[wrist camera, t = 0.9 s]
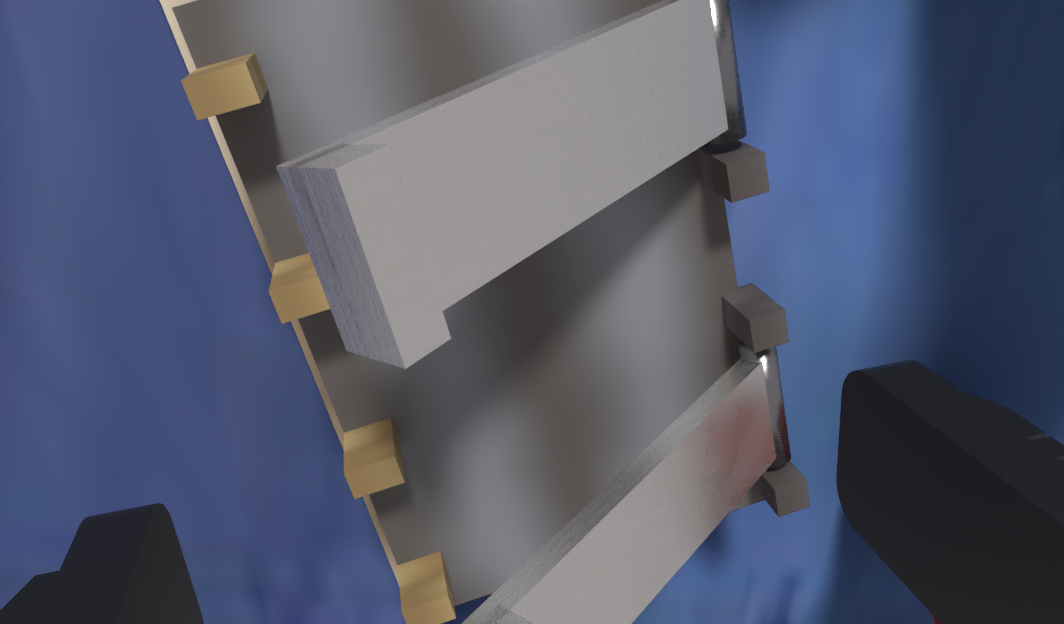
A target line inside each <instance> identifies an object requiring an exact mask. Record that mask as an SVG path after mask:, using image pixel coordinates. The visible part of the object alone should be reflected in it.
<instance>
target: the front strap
mask: <svg viewBox="0 0 1064 624" xmlns="http://www.w3.org/2000/svg"><path fill="white" fill-rule="evenodd" d="M746 135H747V130H746V123H745V115H744V108H743V100H742V93H741V86H740V78H739V71H738V64H737V56H736V49H735V42H734V34H733V27H732V20H731V12H730V5H729V0H662V1H659V2H657V3H655V4H652V5H650V6H648V7H645V8H643V9H641V10H639V11H636V12H634V13H632V14H629V15H627V16H625V17H622V18H620V19H618V20H615V21H613V22H611V23H608V24H606V25H604V26H601V27H599V28H597V29H594V30H592V31H590V32H587V33H585V34H583V35H580V36H578V37H576V38H573V39H571V40H569V41H566V42H564V43H562V44H559V45H557V46H555V47H552V48H550V49H548V50H545V51H543V52H541V53H538V54H536V55H534V56H531V57H529V58H527V59H524V60H522V61H520V62H517V63H515V64H513V65H511V66H508V67H506V68H504V69H501V70H499V71H497V72H494V73H492V74H490V75H487V76H485V77H483V78H480V79H478V80H476V81H473V82H471V83H469V84H466V85H464V86H462V87H459V88H457V89H455V90H452V91H450V92H448V93H445V94H443V95H441V96H438V97H436V98H434V99H431V100H429V101H427V102H424V103H422V104H420V105H417V106H415V107H413V108H410V109H408V110H406V111H403V112H401V113H399V114H396V115H394V116H392V117H389V118H387V119H385V120H382V121H380V122H378V123H376V124H373V125H371V126H369V127H366V128H364V129H362V130H359V131H357V132H355V133H352V134H350V135H348V136H345V137H343V138H341V139H338V140H336V141H334V142H331V143H329V144H327V145H324V146H322V147H320V148H317V149H315V150H313V151H310V152H308V153H306V154H303V155H301V156H299V157H296V158H294V159H292V160H289V161H287V162H285V163H282V164H280V165H278V166H276V168H277V171H278V174H279V176H280V179H281V181H282V184H283V187H284V189H285V192H286V194H287V197H288V200H289V202H290V205H291V207H292V210H293V213H294V215H295V218H296V220H297V223H298V226H299V228H300V231H301V233H302V236H303V239H304V241H305V244H306V247H307V249H308V252H309V254H310V257H311V260H312V262H313V265H314V267H315V270H316V273H317V275H318V278H319V280H320V283H321V286H322V288H323V291H324V293H325V296H326V299H327V301H328V304H329V306H330V309H331V312H332V314H333V317H334V319H335V322H336V325H337V327H338V330H339V332H340V335H341V338H342V340H343V343H344V345H345V348H346V351H349V352H352V353H355V354H358V355H362V356H365V357H368V358H371V359H375V360H378V361H381V362H385V363H388V364H391V365H394V366H398V367H401V368H404V369H406V368H408V367H409V366H411V365H412V364H414V363H415V362H417V361H418V360H420V359H421V358H423V357H424V356H426V355H427V354H429V353H430V352H432V351H433V350H435V349H436V348H438V347H439V346H441V345H442V344H444V343H445V342H447V341H448V340H450V339H451V336H450V333H449V330H448V327H447V324H446V320H445V317H444V314H443V310H445V309H447V308H448V307H450V306H451V305H453V304H454V303H456V302H458V301H459V300H461V299H462V298H464V297H465V296H467V295H469V294H470V293H472V292H473V291H475V290H476V289H478V288H480V287H481V286H483V285H484V284H486V283H487V282H489V281H491V280H492V279H494V278H495V277H497V276H498V275H500V274H502V273H503V272H505V271H506V270H508V269H509V268H511V267H513V266H514V265H516V264H517V263H519V262H520V261H522V260H524V259H525V258H527V257H528V256H530V255H531V254H533V253H535V252H536V251H538V250H539V249H541V248H542V247H544V246H546V245H547V244H549V243H550V242H552V241H553V240H555V239H557V238H558V237H560V236H561V235H563V234H564V233H566V232H568V231H569V230H571V229H572V228H574V227H575V226H577V225H579V224H580V223H582V222H583V221H585V220H586V219H588V218H590V217H591V216H593V215H594V214H596V213H597V212H599V211H601V210H602V209H604V208H605V207H607V206H608V205H610V204H612V203H613V202H615V201H616V200H618V199H619V198H621V197H623V196H624V195H626V194H627V193H629V192H630V191H632V190H634V189H635V188H637V187H638V186H640V185H641V184H643V183H645V182H646V181H648V180H649V179H651V178H652V177H654V176H656V175H657V174H659V173H660V172H662V171H663V170H665V169H667V168H668V167H670V166H671V165H673V164H675V163H676V162H678V161H679V160H681V159H682V158H684V157H686V156H687V155H689V154H690V153H692V152H693V151H695V150H697V149H698V148H700V147H701V146H703V145H704V144H706V143H710V144H724V143H729V142H733V141H737V140H739V139H742V138H744V137H745V136H746Z"/></svg>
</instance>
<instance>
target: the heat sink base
mask: <svg viewBox="0 0 1064 624" xmlns="http://www.w3.org/2000/svg"><path fill="white" fill-rule="evenodd" d="M659 1H662V0H160V3H161V5H162V7H163V10H164V12H165V15H166V17H167V20H168V22H169V25H170V27H171V29H172V32H173V34H174V37H175V39H176V42H177V44H178V47H179V49H180V51H181V54H182V56H183V59H184V61H185V64H186V66H187V68H188V71H189V73H190V74H189V75H188V76H187V77H185V78H184V79H183V80H181V82H182V84H183V87H184V89H185V91H186V94H187V96H188V99H189V101H190V103H191V106H192V108H193V111H194V113H195V115H196V118H197V120H201V119H205V118H208V120H209V122H210V125H211V127H212V130H213V132H214V134H215V137H216V139H217V142H218V144H219V147H220V149H221V152H222V154H223V156H224V159H225V161H226V164H227V166H228V169H229V171H230V174H231V176H232V178H233V181H234V183H235V186H236V188H237V191H238V193H239V196H240V198H241V200H242V203H243V205H244V208H245V210H246V213H247V215H248V218H249V220H250V222H251V225H252V227H253V230H254V232H255V235H256V237H257V239H258V242H259V244H260V247H261V249H262V252H263V254H264V257H265V259H266V261H267V264H268V266H269V269H270V271H271V274H272V279H271V283H270V288H269V294H270V296H271V299H272V301H273V303H274V306H275V308H276V311H277V313H278V315H279V318H280V320H281V323H282V324H283V323H286V322H289V321H291V323H292V325H293V327H294V330H295V332H296V335H297V337H298V340H299V342H300V345H301V347H302V349H303V352H304V354H305V357H306V359H307V362H308V364H309V367H310V369H311V371H312V374H313V376H314V379H315V381H316V384H317V386H318V389H319V391H320V393H321V396H322V398H323V401H324V403H325V406H326V408H327V411H328V413H329V415H330V418H331V420H332V423H333V425H334V428H335V430H336V432H337V435H338V437H339V440H340V442H341V445H342V447H343V450H344V474H345V477H346V479H347V482H348V484H349V487H350V489H351V491H352V494H353V496H354V499H356V498H359V497H362V496H363V498H364V501H365V503H366V506H367V508H368V511H369V513H370V516H371V518H372V520H373V523H374V525H375V528H376V530H377V533H378V535H379V538H380V540H381V542H382V545H383V547H384V550H385V552H386V555H387V557H388V560H389V562H390V564H391V567H392V569H393V572H394V574H395V577H396V579H397V582H398V584H399V587H400V598H401V609H402V614H403V617H404V619H405V621H406V624H442V623H444V622H447V621H450V620H453V619H456V614H455V608H454V606H456V605H459V604H462V603H465V602H468V601H471V600H474V599H477V598H480V597H483V596H485V595H488V594H491V593H494V592H495V591H496V590H497V589H498V588H499V587H500V586H501V585H503V584H504V583H505V582H506V581H507V580H508V579H509V578H510V577H511V576H512V575H513V574H514V573H515V572H516V571H517V570H518V569H519V568H520V567H521V566H522V565H524V564H525V563H526V562H527V561H528V560H529V559H530V558H531V557H532V556H533V555H534V554H535V553H536V552H537V551H538V550H539V549H540V548H541V547H542V546H544V545H545V544H546V543H547V542H548V541H549V540H550V539H551V538H552V537H553V536H554V535H555V534H556V533H557V532H558V531H559V530H560V529H561V528H562V527H563V526H565V525H566V524H567V523H568V522H569V521H570V520H571V519H572V518H573V517H574V516H575V515H576V514H577V513H578V512H579V511H580V510H581V509H582V508H583V507H585V506H586V505H587V504H588V503H589V502H590V501H591V500H592V499H593V498H594V497H595V496H596V495H597V494H598V493H599V492H600V491H601V490H602V489H603V488H604V487H606V486H607V485H608V484H609V483H610V482H611V481H612V480H613V479H614V478H615V477H616V476H617V475H618V474H619V473H620V472H621V471H622V470H623V469H624V468H626V467H627V466H628V465H629V464H630V463H631V462H632V461H633V460H634V459H635V458H636V457H637V456H638V455H639V454H640V453H641V452H642V451H643V450H644V449H645V448H647V447H648V446H649V445H650V444H651V443H652V442H653V441H654V440H655V439H656V438H657V437H658V436H659V435H660V434H661V433H662V432H663V431H664V430H665V429H666V428H668V427H669V426H670V425H671V424H672V423H673V422H674V421H675V420H676V419H677V418H678V417H679V416H680V415H681V414H682V413H683V412H684V411H685V410H686V409H688V408H689V407H690V406H691V405H692V404H693V403H694V402H695V401H696V400H697V399H698V398H699V397H700V396H701V395H702V394H703V393H704V392H705V391H706V390H707V389H709V388H710V387H711V386H712V385H713V384H714V383H715V382H716V381H717V380H718V379H719V378H720V377H721V376H722V375H723V374H724V373H725V372H726V371H727V370H729V369H730V368H731V367H732V366H733V365H734V364H735V363H736V362H737V361H738V360H739V359H740V358H741V357H740V350H739V342H740V341H742V342H743V343H744V344H745V345H746V346H747V347H748V348H749V349H750V350H752V351H753V352H754V353H757V352H760V351H763V350H766V349H769V348H772V347H775V346H778V345H781V344H784V343H787V342H789V339H788V331H787V323H786V316H785V309H784V308H782V307H781V306H780V305H779V304H777V303H776V302H775V301H774V300H772V299H771V298H770V297H769V296H767V295H766V294H765V293H764V292H762V291H761V290H760V289H759V288H757V287H756V286H755V285H754V284H752V283H750V284H747V285H744V286H741V287H737V281H736V274H735V268H734V261H733V255H732V248H731V242H730V235H729V229H728V222H727V215H726V209H725V202H724V198H725V199H727V200H728V201H730V202H731V203H733V202H736V201H739V200H743V199H746V198H749V197H752V196H755V195H759V194H762V193H765V192H768V191H769V183H768V175H767V168H766V160H765V153H764V152H762V151H760V150H758V149H756V148H754V147H752V146H750V145H747V144H745V143H743V142H741V141H739V140H737V141H733V142H729V143H724V144H710V143H706V144H704V145H703V146H701V147H700V148H698V149H697V150H695V151H693V152H692V153H690V154H689V155H687V156H686V157H684V158H682V159H681V160H679V161H678V162H676V163H675V164H673V165H671V166H670V167H668V168H667V169H665V170H663V171H662V172H660V173H659V174H657V175H656V176H654V177H652V178H651V179H649V180H648V181H646V182H645V183H643V184H641V185H640V186H638V187H637V188H635V189H634V190H632V191H630V192H629V193H627V194H626V195H624V196H623V197H621V198H619V199H618V200H616V201H615V202H613V203H612V204H610V205H608V206H607V207H605V208H604V209H602V210H601V211H599V212H597V213H596V214H594V215H593V216H591V217H590V218H588V219H586V220H585V221H583V222H582V223H580V224H579V225H577V226H575V227H574V228H572V229H571V230H569V231H568V232H566V233H564V234H563V235H561V236H560V237H558V238H557V239H555V240H553V241H552V242H550V243H549V244H547V245H546V246H544V247H542V248H541V249H539V250H538V251H536V252H535V253H533V254H531V255H530V256H528V257H527V258H525V259H524V260H522V261H520V262H519V263H517V264H516V265H514V266H513V267H511V268H509V269H508V270H506V271H505V272H503V273H502V274H500V275H498V276H497V277H495V278H494V279H492V280H491V281H489V282H487V283H486V284H484V285H483V286H481V287H480V288H478V289H476V290H475V291H473V292H472V293H470V294H469V295H467V296H465V297H464V298H462V299H461V300H459V301H458V302H456V303H454V304H453V305H451V306H450V307H448V308H447V309H445V310H443V314H444V317H445V320H446V324H447V327H448V330H449V333H450V336H451V339H450V340H448V341H447V342H445V343H444V344H442V345H441V346H439V347H438V348H436V349H435V350H433V351H432V352H430V353H429V354H427V355H426V356H424V357H423V358H421V359H420V360H418V361H417V362H415V363H414V364H412V365H411V366H409V367H408V368H406V369H404V368H401V367H398V366H394V365H391V364H388V363H385V362H381V361H378V360H375V359H371V358H368V357H365V356H362V355H358V354H355V353H352V352H349V351H346V348H345V345H344V343H343V340H342V338H341V335H340V332H339V330H338V327H337V325H336V322H335V319H334V317H333V314H332V312H331V309H330V306H329V304H328V301H327V299H326V296H325V293H324V291H323V288H322V286H321V283H320V280H319V278H318V275H317V273H316V270H315V267H314V265H313V262H312V260H311V257H310V254H309V252H308V249H307V247H306V244H305V241H304V239H303V236H302V233H301V231H300V228H299V226H298V223H297V220H296V218H295V215H294V213H293V210H292V207H291V205H290V202H289V200H288V197H287V194H286V192H285V189H284V187H283V184H282V181H281V179H280V176H279V174H278V171H277V168H276V166H278V165H280V164H282V163H285V162H287V161H289V160H292V159H294V158H296V157H299V156H301V155H303V154H306V153H308V152H310V151H313V150H315V149H317V148H320V147H322V146H324V145H327V144H329V143H331V142H334V141H336V140H338V139H341V138H343V137H345V136H348V135H350V134H352V133H355V132H357V131H359V130H362V129H364V128H366V127H369V126H371V125H373V124H376V123H378V122H380V121H382V120H385V119H387V118H389V117H392V116H394V115H396V114H399V113H401V112H403V111H406V110H408V109H410V108H413V107H415V106H417V105H420V104H422V103H424V102H427V101H429V100H431V99H434V98H436V97H438V96H441V95H443V94H445V93H448V92H450V91H452V90H455V89H457V88H459V87H462V86H464V85H466V84H469V83H471V82H473V81H476V80H478V79H480V78H483V77H485V76H487V75H490V74H492V73H494V72H497V71H499V70H501V69H504V68H506V67H508V66H511V65H513V64H515V63H517V62H520V61H522V60H524V59H527V58H529V57H531V56H534V55H536V54H538V53H541V52H543V51H545V50H548V49H550V48H552V47H555V46H557V45H559V44H562V43H564V42H566V41H569V40H571V39H573V38H576V37H578V36H580V35H583V34H585V33H587V32H590V31H592V30H594V29H597V28H599V27H601V26H604V25H606V24H608V23H611V22H613V21H615V20H618V19H620V18H622V17H625V16H627V15H629V14H632V13H634V12H636V11H639V10H641V9H643V8H645V7H648V6H650V5H652V4H655V3H657V2H659ZM763 500H766V501H767V503H768V504H769V505H770V506H771V508H772V509H773V510H774V512H775V513H776V514H777V515H778V517H781V516H783V515H786V514H789V513H792V512H795V511H798V510H801V509H804V508H807V507H810V503H809V495H808V487H807V480H806V478H805V477H804V476H803V475H802V474H801V473H800V472H799V471H798V469H797V468H796V467H795V466H794V465H793V464H792V463H791V461H789V462H788V463H787V464H786V465H784V466H782V467H778V468H768V469H767V470H766V471H765V472H764V473H763V474H762V475H761V476H760V478H759V479H758V480H757V481H756V482H755V483H754V484H753V486H752V487H751V488H750V489H749V490H748V491H747V492H746V494H745V495H744V496H743V497H742V498H741V499H740V500H739V502H738V503H737V504H736V505H735V506H734V507H733V508H732V510H731V511H733V510H736V509H739V508H742V507H745V506H748V505H751V504H754V503H757V502H760V501H763ZM731 511H730V512H731Z"/></svg>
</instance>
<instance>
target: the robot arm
mask: <svg viewBox="0 0 1064 624" xmlns="http://www.w3.org/2000/svg"><path fill="white" fill-rule="evenodd" d="M837 490H838V495H839V499H840V502H841V505H842V508H843V510H844V513H845V515H846V517H847V519H848V521H849V522H850V524H851V525H852V527H853V528H854V529H855V530H856V531H857V533H858V534H859V535H860V536H861V537H862V538H863V539H864V540H865V541H866V542H867V543H868V545H869V546H870V547H871V548H872V549H873V550H874V551H875V552H876V553H877V554H878V555H879V557H880V558H881V559H882V560H883V561H884V562H885V563H886V564H887V565H888V566H889V567H890V569H891V570H892V571H893V572H894V573H895V574H896V575H897V576H898V577H899V578H900V579H901V581H902V582H903V583H904V584H905V585H906V586H907V587H908V588H909V589H910V590H911V591H912V593H913V594H914V595H915V596H916V597H917V598H918V599H919V600H920V601H921V602H922V603H923V605H924V606H925V607H926V608H927V609H928V610H929V611H930V612H931V613H932V614H933V615H934V617H935V618H936V619H937V620H938V621H939V622H940V623H941V624H1064V445H1062V444H1061V443H1059V442H1058V441H1056V440H1055V439H1053V438H1052V437H1046V438H1045V437H1044V435H1043V431H1041V430H1040V429H1038V428H1037V427H1035V426H1034V425H1032V424H1031V423H1029V422H1028V421H1026V420H1025V419H1023V418H1022V417H1020V416H1019V415H1017V414H1016V413H1014V412H1013V411H1011V410H1010V409H1008V408H1006V407H1003V406H1000V405H998V404H995V403H993V402H990V401H987V400H985V399H982V398H979V397H977V396H974V395H971V394H969V393H966V392H963V391H959V390H958V389H956V388H955V387H953V386H952V385H951V384H949V383H948V382H946V381H945V380H943V379H942V378H940V377H939V376H937V375H936V374H934V373H933V372H932V371H930V370H929V369H927V368H926V367H924V366H923V365H921V364H920V363H918V362H915V361H903V362H897V363H892V364H887V365H882V366H877V367H872V368H866V369H861V370H856V371H853V372H851V373H849V374H848V376H847V377H846V379H845V381H844V384H843V388H842V398H841V414H840V430H839V446H838V461H837ZM0 624H204V623H203V618H202V614H201V610H200V607H199V604H198V601H197V598H196V594H195V591H194V588H193V585H192V582H191V579H190V575H189V572H188V569H187V566H186V563H185V560H184V556H183V553H182V550H181V547H180V544H179V541H178V538H177V534H176V531H175V528H174V525H173V522H172V519H171V516H170V514H169V512H168V510H167V509H166V507H165V506H164V505H163V504H161V503H157V504H151V505H146V506H141V507H136V508H131V509H126V510H120V511H115V512H110V513H105V514H100V515H94V516H89V517H87V518H85V519H84V520H83V521H82V523H81V524H80V526H79V528H78V531H77V533H76V535H75V537H74V540H73V542H72V544H71V546H70V548H69V551H68V553H67V555H66V557H65V560H64V562H63V564H62V566H61V568H60V571H56V572H51V573H46V574H41V575H36V576H34V577H33V578H32V579H31V580H30V581H29V582H28V583H27V584H26V585H25V586H24V587H23V588H22V589H21V590H20V591H19V592H18V593H17V594H16V595H15V596H14V597H13V598H12V599H11V600H10V601H9V602H8V603H7V604H6V605H5V606H4V607H3V608H2V609H1V610H0Z"/></svg>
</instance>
